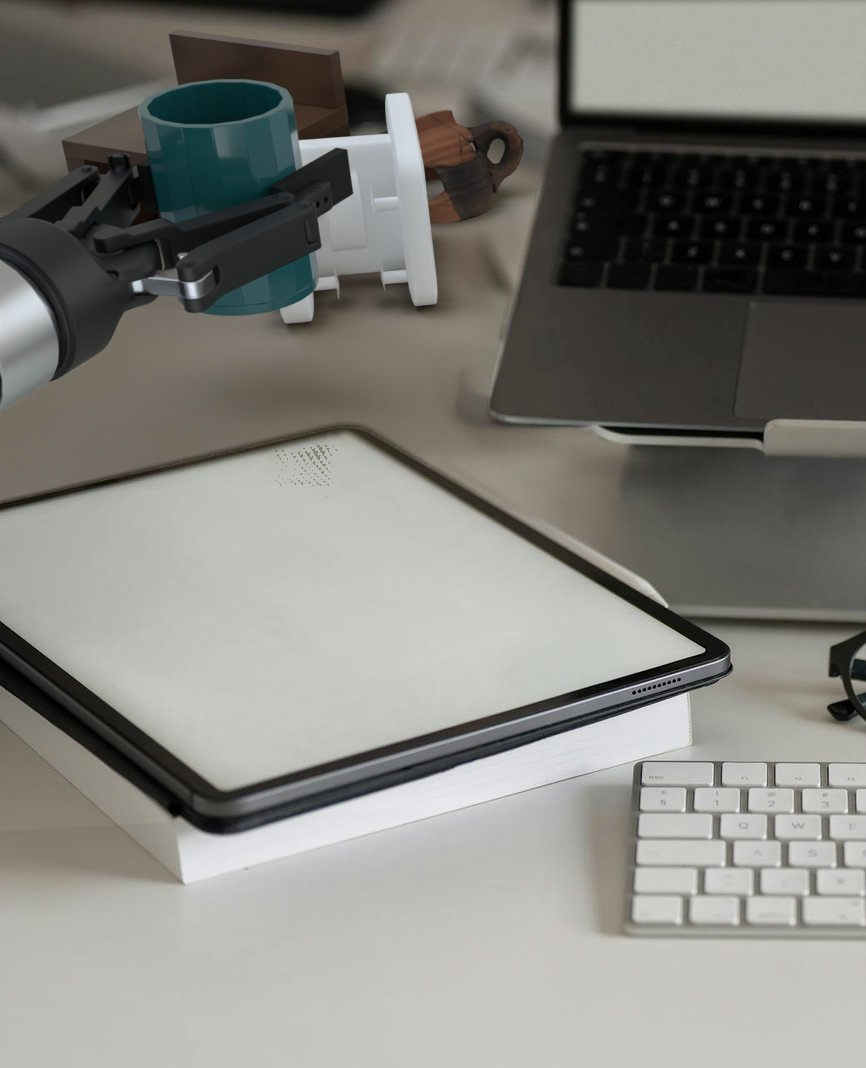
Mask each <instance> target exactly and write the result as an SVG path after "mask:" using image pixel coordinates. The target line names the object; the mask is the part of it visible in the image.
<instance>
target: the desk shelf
mask: <svg viewBox="0 0 866 1068" xmlns="http://www.w3.org/2000/svg"><path fill="white" fill-rule="evenodd" d="M168 39H169V43H170V49H171V54H172V55H171V56H172V59H173V65H174V66H173V67H174V71H175V76H176V82H177V86H179V85H183V84H187V83H192V82H200V81H209V80H217V79H218V80H219V79H246V80H247V79H248V80H254V81H261V82H268V83H272V84H275V85H277V86H280V87H282V88H285V89H286V90H287V91H288V92H289V94H290V96H291V97H292V100H293V107H294V113H295V120H296V127H297V133H298V140H310V139H324V138H337V137H351V130H350V129H351V128H350V122H349V113H348V106H347V100H346V91H345V85H344V77H343V71H342V64H341V63H342V62H341V56H340V54H341V53H340V50H336V49H330V48H322V47H316V46H307V45H299V44H292V43H284V42H277V41H269V40H261V39H254V38H248V37H247V38H246V37H240V36H239V37H238V36H231V35H223V34H216V33H209V32H201V31H194V30H186V29H176V30H173V31H171V32H169V33H168ZM140 104H141V103H139V104H137V105H135V106H133V107H131V108H129V109H126V110H124V111H122V112H119V113H118V114H116V115H113V116H111V117H108V118H107V119H105V120H103V121H100V122H98V123H96V124H93V125H92V126H90V127H87V128H85V129H83V130H81V131H79V132H77V133H74V134H71V135H70V136H67V137H65V138H63V139H62V140H61V146H62V149H63V153H64V158H65V161H66V162H65V163H66V167H67V171H68V174H69V173H71V172H72V171H74V170H75V169H77V168H79V167H82V166H85V165H89V166H96V167H98V171H99V174H107V173H108V172H109V170H110V169H109V164H108V159H107V157H108V156H109V155H112V154H116V153H126V154H128V155H129V156H130V161H131V166H132V168H133V167H135V166H137V165H136V164H138V163H140V162H142V161H144V160H146V159H148V158H147V153H146V148H145V143H144V138H143V133H142V128H141V123H140V119H139V114H138V109H137V108H138V106H139V105H140ZM139 204H140V211H139V213H138V214H137V216H136V217H135V219H134V220H133V221H132V223H131V224H130V226H129V227H132V226H135V225H138V224H142V223H145V222H147V220H148V221H149V220H150V219H152V218H153V217H155V216H156V215H159V212H158V211H157V212H155V211H149V210H146V208H145V204H144V200H143V201H141V202H139Z"/></svg>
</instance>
